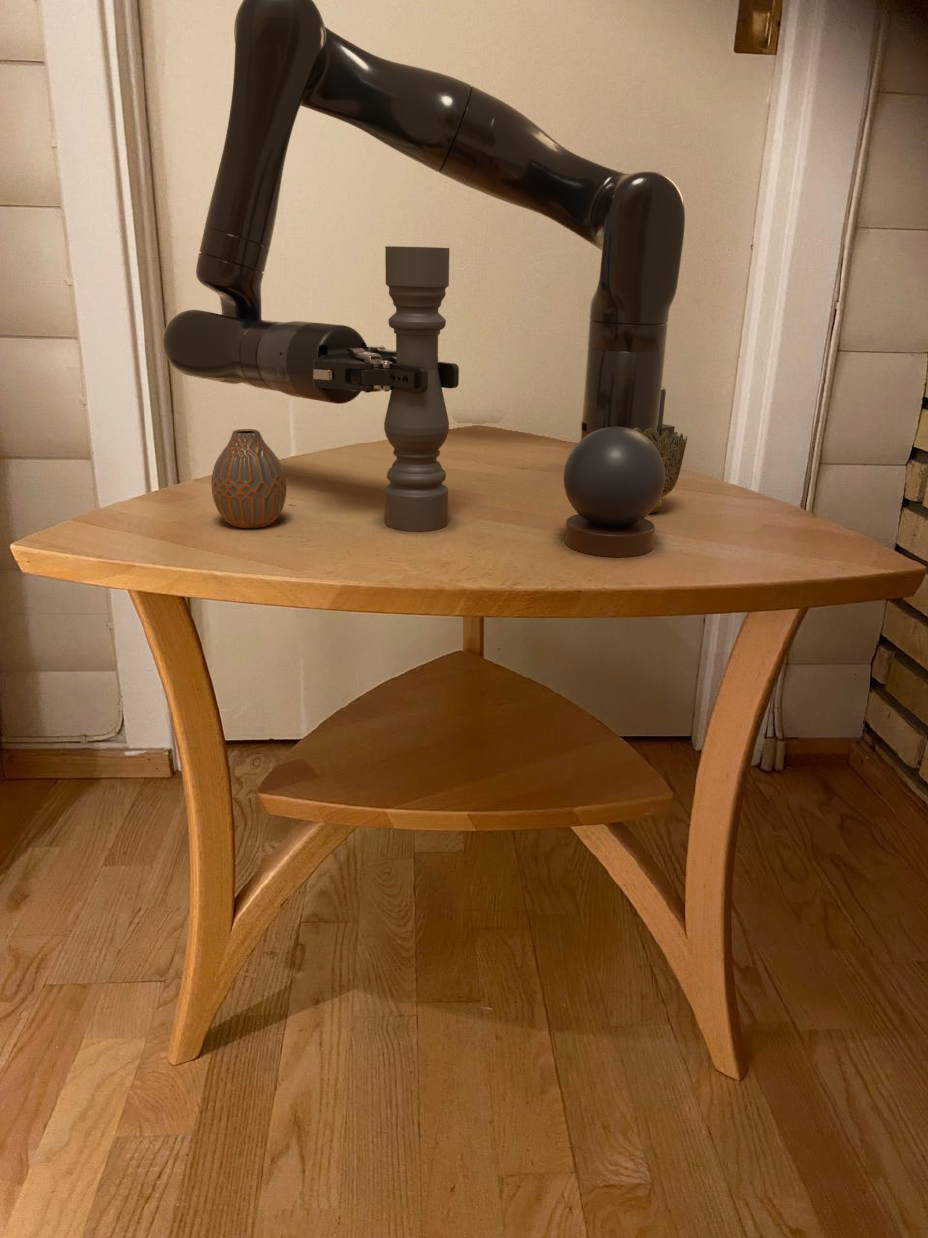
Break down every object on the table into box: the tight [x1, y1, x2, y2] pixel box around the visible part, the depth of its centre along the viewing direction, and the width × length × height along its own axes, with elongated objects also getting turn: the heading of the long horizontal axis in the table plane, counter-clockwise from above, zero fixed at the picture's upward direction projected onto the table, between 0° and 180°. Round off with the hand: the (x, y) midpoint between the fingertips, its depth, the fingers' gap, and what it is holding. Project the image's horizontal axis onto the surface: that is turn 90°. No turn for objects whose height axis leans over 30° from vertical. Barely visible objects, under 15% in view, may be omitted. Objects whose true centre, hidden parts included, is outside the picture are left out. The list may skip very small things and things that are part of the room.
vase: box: [210, 428, 287, 529], centre depth 90 cm, size 7×7×9 cm
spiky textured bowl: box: [633, 427, 688, 514], centre depth 98 cm, size 8×7×8 cm
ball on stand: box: [563, 427, 665, 558], centre depth 86 cm, size 9×9×11 cm
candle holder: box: [383, 245, 450, 532], centre depth 89 cm, size 6×6×25 cm
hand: (440, 378), depth 87 cm, fingers closed on candle holder, 3 cm apart
